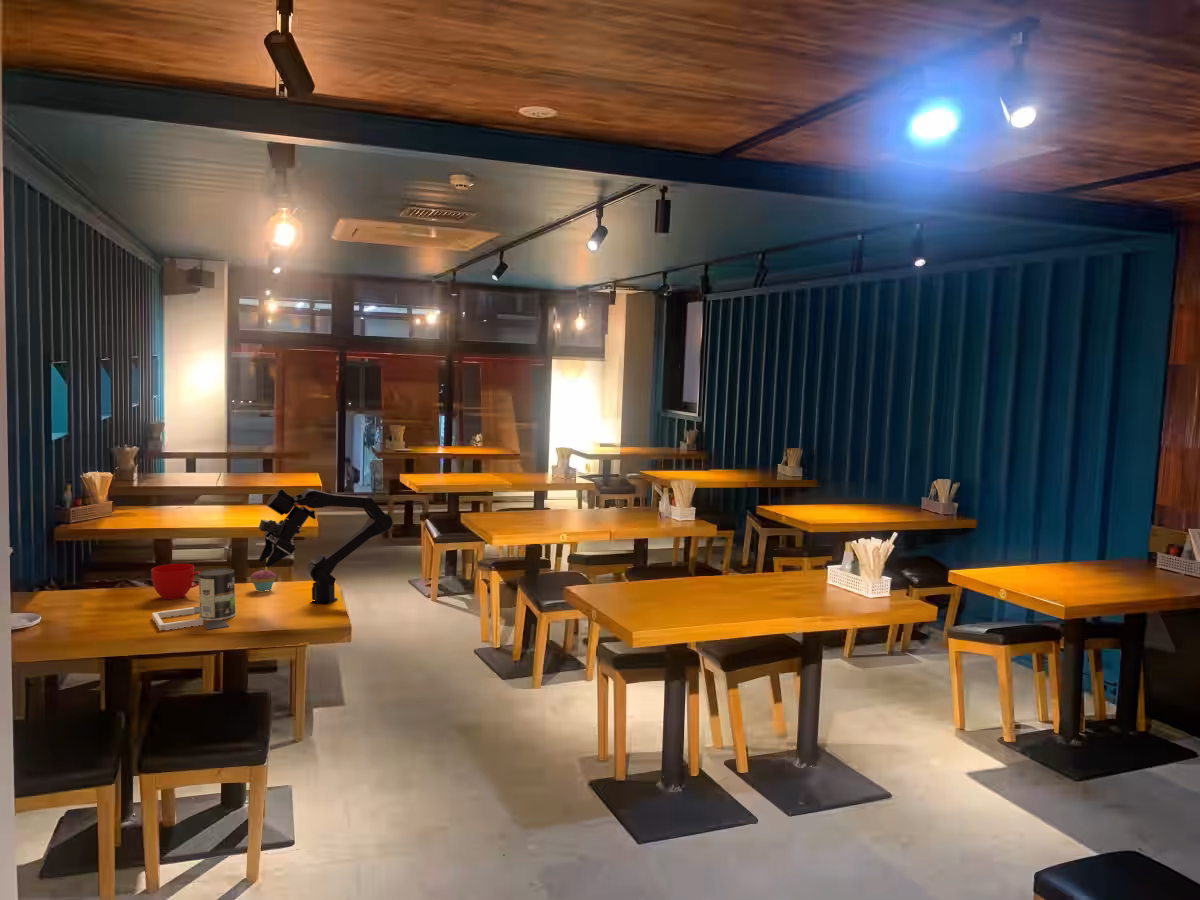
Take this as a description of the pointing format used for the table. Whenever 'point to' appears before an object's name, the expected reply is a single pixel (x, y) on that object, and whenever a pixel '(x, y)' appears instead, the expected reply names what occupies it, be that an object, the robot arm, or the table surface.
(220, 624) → the pair of grey pads
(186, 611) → the dock
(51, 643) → the table surface
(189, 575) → the ceramic cup
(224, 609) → the coffee can
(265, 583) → the cupcake
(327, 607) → the table surface
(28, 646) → the table surface
